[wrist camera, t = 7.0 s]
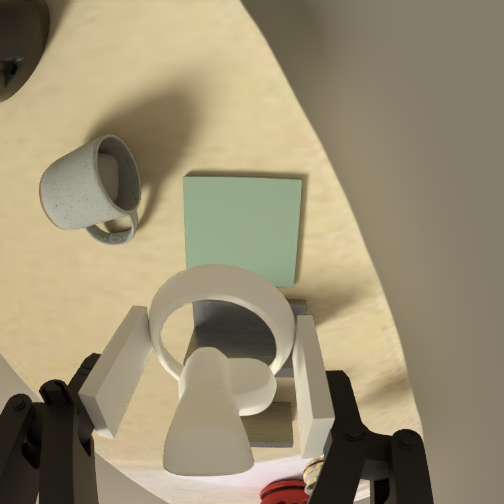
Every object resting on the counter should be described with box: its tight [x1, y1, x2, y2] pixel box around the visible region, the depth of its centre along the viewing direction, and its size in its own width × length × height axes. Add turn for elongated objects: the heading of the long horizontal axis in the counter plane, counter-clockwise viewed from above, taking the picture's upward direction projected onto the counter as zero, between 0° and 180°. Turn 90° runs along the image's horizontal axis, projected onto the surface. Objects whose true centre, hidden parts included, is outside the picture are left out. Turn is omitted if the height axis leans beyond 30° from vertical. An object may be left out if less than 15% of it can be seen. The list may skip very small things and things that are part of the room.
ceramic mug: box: [39, 134, 141, 245], centre depth 27 cm, size 11×8×8 cm
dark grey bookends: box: [183, 299, 306, 448], centre depth 35 cm, size 21×12×7 cm, turn 178°
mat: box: [183, 176, 302, 288], centre depth 31 cm, size 11×11×1 cm
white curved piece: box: [149, 264, 296, 476], centre depth 12 cm, size 8×12×7 cm
